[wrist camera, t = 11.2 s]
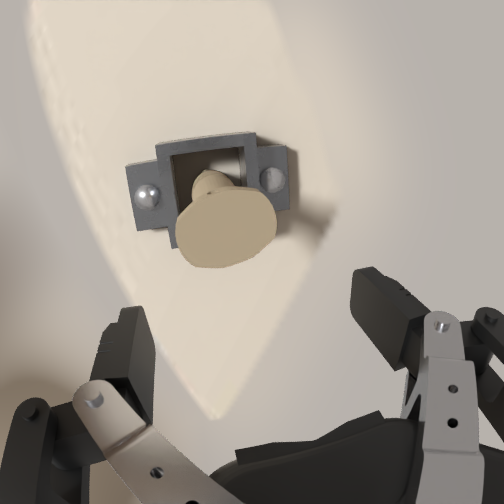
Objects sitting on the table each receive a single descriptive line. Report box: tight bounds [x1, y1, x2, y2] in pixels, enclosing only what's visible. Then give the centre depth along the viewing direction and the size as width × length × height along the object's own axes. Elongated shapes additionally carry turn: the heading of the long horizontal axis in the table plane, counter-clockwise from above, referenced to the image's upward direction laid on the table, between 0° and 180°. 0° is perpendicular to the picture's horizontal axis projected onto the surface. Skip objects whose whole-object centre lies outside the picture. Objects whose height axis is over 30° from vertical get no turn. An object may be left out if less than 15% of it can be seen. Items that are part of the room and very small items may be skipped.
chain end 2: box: [238, 132, 290, 211], centre depth 31 cm, size 10×12×4 cm
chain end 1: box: [125, 133, 244, 249], centre depth 30 cm, size 10×12×4 cm
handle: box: [175, 169, 277, 268], centre depth 26 cm, size 5×6×15 cm
